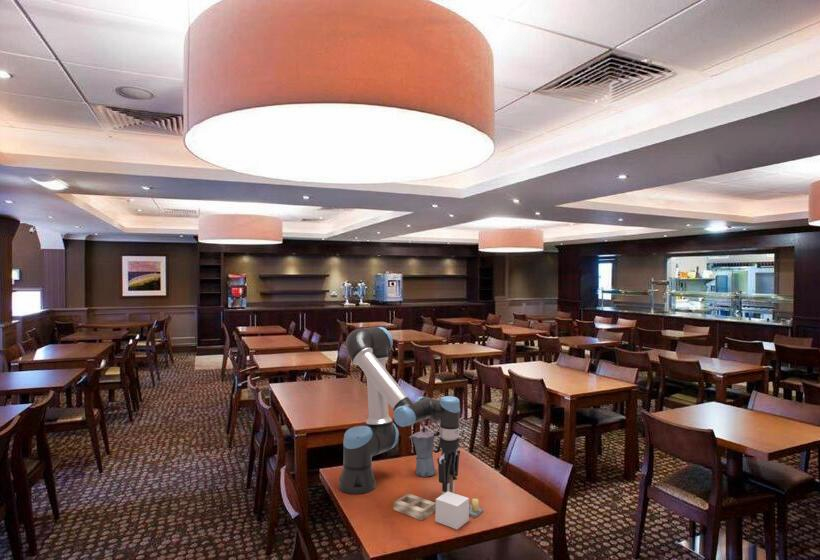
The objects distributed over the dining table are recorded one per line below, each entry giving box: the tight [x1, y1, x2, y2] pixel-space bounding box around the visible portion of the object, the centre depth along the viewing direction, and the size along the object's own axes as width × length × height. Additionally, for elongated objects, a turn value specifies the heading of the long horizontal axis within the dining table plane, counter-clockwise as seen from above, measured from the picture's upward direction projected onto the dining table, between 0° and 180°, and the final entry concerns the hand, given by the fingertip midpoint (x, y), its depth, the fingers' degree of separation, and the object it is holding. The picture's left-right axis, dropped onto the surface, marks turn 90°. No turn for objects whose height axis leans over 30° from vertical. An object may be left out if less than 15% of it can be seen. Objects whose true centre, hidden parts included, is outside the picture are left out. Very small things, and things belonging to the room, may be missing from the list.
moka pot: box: [409, 427, 441, 478], centre depth 214 cm, size 10×15×20 cm, turn 107°
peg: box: [448, 474, 453, 492], centre depth 187 cm, size 3×3×10 cm
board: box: [469, 497, 484, 519], centre depth 179 cm, size 7×6×5 cm
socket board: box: [393, 492, 436, 521], centre depth 179 cm, size 13×9×3 cm
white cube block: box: [434, 491, 470, 530], centre depth 172 cm, size 9×8×8 cm
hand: (448, 497), depth 187 cm, fingers closed on peg, 3 cm apart
